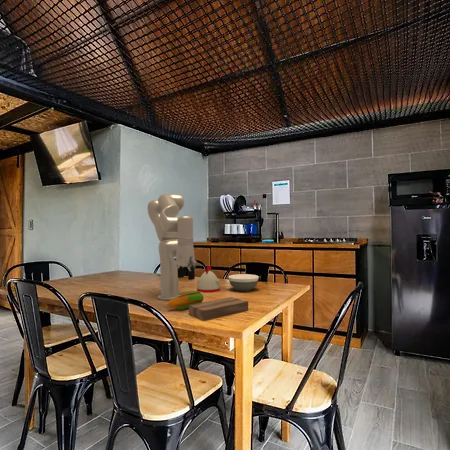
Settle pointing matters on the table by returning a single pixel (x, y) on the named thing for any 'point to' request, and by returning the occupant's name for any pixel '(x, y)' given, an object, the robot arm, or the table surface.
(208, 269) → the kitchen timer
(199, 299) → the corn
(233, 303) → the board
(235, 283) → the bowl
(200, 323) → the table surface
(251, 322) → the table surface
